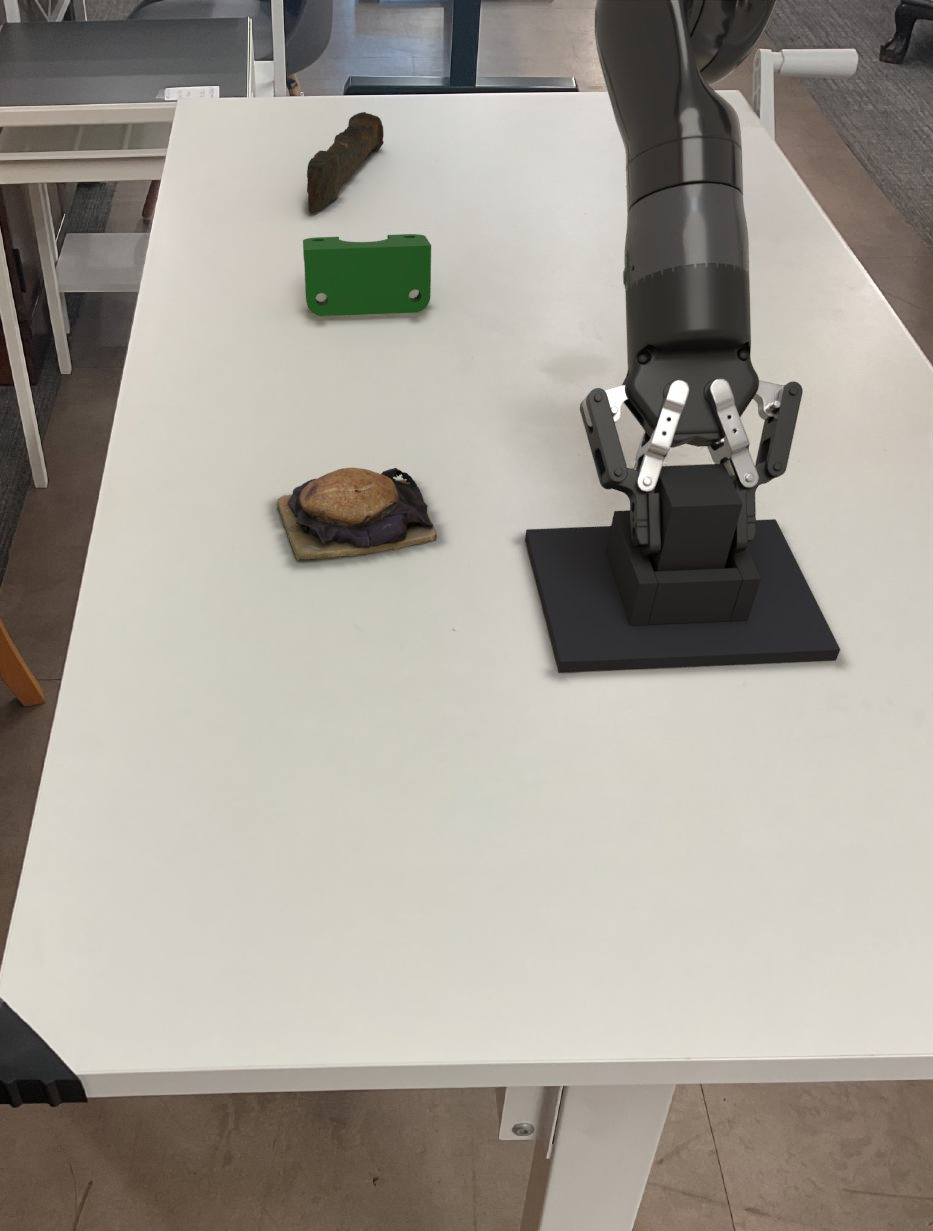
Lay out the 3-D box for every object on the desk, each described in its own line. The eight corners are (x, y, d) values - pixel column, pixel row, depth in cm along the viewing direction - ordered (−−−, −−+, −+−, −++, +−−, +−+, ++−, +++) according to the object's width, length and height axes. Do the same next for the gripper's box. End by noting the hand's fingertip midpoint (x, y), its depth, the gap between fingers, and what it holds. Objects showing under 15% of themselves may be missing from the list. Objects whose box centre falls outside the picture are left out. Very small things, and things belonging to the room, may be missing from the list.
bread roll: (296, 569, 83) (294, 526, 80) (274, 500, 89) (271, 457, 86) (442, 546, 85) (444, 502, 82) (411, 479, 90) (412, 437, 87)
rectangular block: (697, 564, 81) (724, 463, 75) (714, 605, 78) (743, 503, 73) (634, 566, 81) (655, 465, 75) (648, 608, 78) (672, 506, 72)
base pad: (772, 530, 86) (789, 476, 82) (836, 660, 76) (858, 606, 73) (524, 540, 85) (531, 486, 82) (558, 673, 76) (567, 619, 72)
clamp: (402, 336, 114) (441, 241, 109) (408, 352, 109) (449, 253, 104) (284, 288, 111) (319, 188, 106) (285, 302, 106) (322, 198, 101)
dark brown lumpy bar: (351, 146, 134) (350, 102, 131) (384, 151, 133) (384, 106, 130) (285, 214, 122) (282, 167, 119) (321, 219, 121) (319, 172, 118)
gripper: (587, 261, 71) (596, 549, 72) (824, 253, 71) (830, 540, 72) (560, 305, 78) (569, 565, 79) (775, 298, 79) (781, 557, 79)
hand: (694, 552), depth 76 cm, fingers open, 5 cm apart
